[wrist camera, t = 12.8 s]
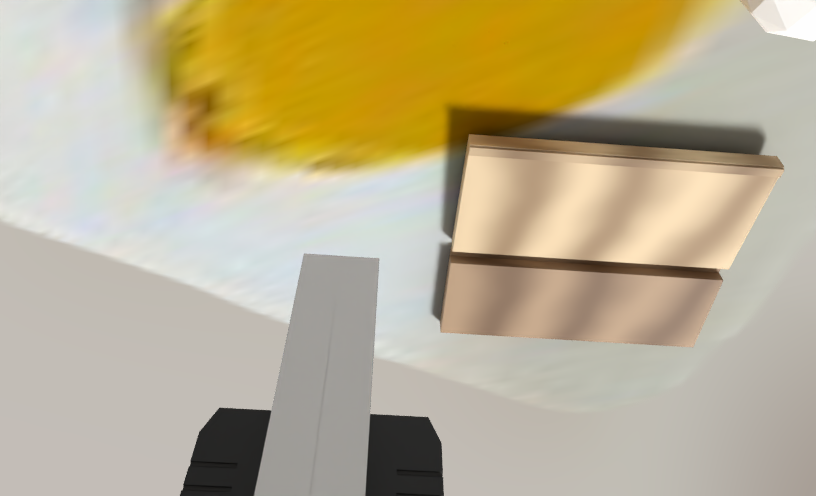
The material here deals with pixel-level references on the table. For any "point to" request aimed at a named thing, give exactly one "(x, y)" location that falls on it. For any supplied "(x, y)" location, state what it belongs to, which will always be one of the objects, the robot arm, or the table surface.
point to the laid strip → (576, 299)
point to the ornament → (785, 17)
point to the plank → (609, 201)
